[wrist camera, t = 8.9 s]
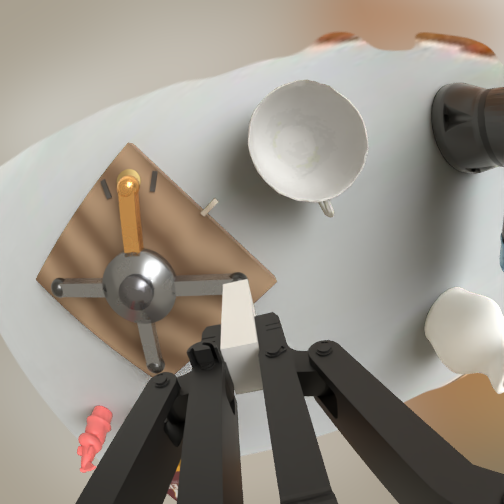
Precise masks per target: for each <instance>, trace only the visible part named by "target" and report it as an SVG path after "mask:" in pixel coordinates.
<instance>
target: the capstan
mask: <svg viewBox="0 0 504 504" xmlns="http://www.w3.org/2000/svg"><path fill="white" fill-rule="evenodd" d="M139 189H140V184H139V181H138V180H137V179H136V178H135V177H134V176H131V175H126V176H124V177H122V178H121V179H120V180H119V181H118V183H117V193H118V198H119V209H120V219H121V229H122V237H123V245H124V251H123V252H121V253H119V254H118V255H117V256H116V257H115V258H114V259H113V260H112V261H111V262H110V263H109V264H108V266H107V267H106V269H105V272H104V275H103V278H65V279H64V278H56V279H54V280H53V282H52V284H51V291H52V293H53V294H54V295H55V296H56V297H58V298H63V297H105V298H106V300H107V302H108V304H109V305H110V306H111V308H112V309H113V310H114V311H115V312H116V313H117V314H118V315H120V316H121V317H123V318H124V319H126V320H128V321H131V322H134V323H137V325H138V329H139V334H140V338H141V342H142V347H143V351H144V355H145V358H146V366H147V369H148V370H149V371H150V372H152V373H154V374H158V373H161V372H162V371H163V370H164V368H165V362H164V360H163V358H162V354H161V349H160V345H159V340H158V335H157V330H156V324H155V322H157V321H159V320H161V319H163V318H164V317H165V316H166V315H168V313H169V312H170V311H171V309H172V308H173V305H174V303H175V299H176V296H202V295H223V284H227V283H231V282H236V281H240V280H245V279H248V278H247V276H246V275H245V274H243V273H241V272H234V273H229V274H206V275H180V276H176V274H175V272H174V269H173V268H172V266H171V265H170V263H169V262H168V261H167V260H166V259H165V258H164V257H163V256H161V255H160V254H158V253H157V252H155V251H152V250H150V249H146V248H144V246H143V237H142V228H141V217H140V205H139ZM248 284H249V280H248Z"/></svg>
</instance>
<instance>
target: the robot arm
mask: <svg viewBox="0 0 504 504" xmlns="http://www.w3.org/2000/svg"><path fill="white" fill-rule="evenodd" d="M432 125H433V131H434V135H435V139H436V142H437V145H438V147H439V149H440V151H441V153H442V155H443V156H444V158H445V159H446V161H447V162H448V163H449V164H450V165H451V166H452V167H453V168H455V169H456V170H458V171H460V172H465V173H472V174H476V173H481V172H484V171H487V170H490V169H493V168H496V167H499V166H501V167H504V87H500V88H492V89H485V88H481V87H477V86H474V85H469V84H466V83H453V84H448V85H445V86H444V87H442V88H441V89H440V90H439V91H438V93H437V94H436V96H435V99H434V102H433V107H432ZM500 266H501V268H502V271H503V272H504V219H503V229H502V233H501V251H500ZM201 339H202V340H201V342H197V343H195V344H193V345H192V346H191V347H189V348H188V350H187V352H186V353H187V355H188V358H189V360H190V363H191V365H192V371H191V372H189V373H187V374H185V375H183V376H180V377H177V378H176V376H175V375H174V374H173V373H170V372H162V373H159V374H157V375H155V376H153V377H152V378H151V379H150V380H149V382H148V383H147V385H146V387H145V388H144V390H143V392H142V393H141V395H140V396H139V398H138V400H137V401H136V403H135V405H134V406H133V408H132V409H131V411H130V413H129V414H128V416H127V418H126V419H125V421H124V423H123V424H122V426H121V427H120V429H119V431H118V432H117V434H116V436H115V437H114V439H113V441H112V442H111V444H110V446H109V447H108V449H107V451H106V452H105V454H104V456H103V457H102V459H101V461H100V462H99V464H98V466H97V468H96V470H95V471H94V473H93V474H92V476H91V478H90V479H89V481H88V483H87V485H86V486H85V488H84V490H83V492H82V493H81V495H80V497H79V498H78V500H77V502H76V504H163V502H164V499H165V497H166V494H167V492H168V489H169V487H170V484H171V482H172V479H173V477H174V475H175V472H176V470H177V467H178V465H179V462H180V460H181V463H180V473H179V484H178V495H177V504H243V490H242V476H241V463H240V446H239V430H238V412H237V401H236V399H235V396H234V390H235V392H236V394H242V393H248V392H253V391H258V390H263V391H264V398H265V405H266V411H267V418H268V425H269V431H270V438H271V444H272V450H273V457H274V463H275V470H276V476H277V483H278V489H279V495H280V504H338V503H337V500H336V497H335V494H334V493H333V492H332V489H331V486H330V483H329V479H328V476H327V472H326V469H325V466H324V462H323V459H322V455H321V452H320V449H319V445H318V442H317V439H316V435H315V432H314V429H313V425H312V422H311V418H310V415H309V412H308V408H307V405H306V402H305V398H304V396H314V398H315V400H316V401H317V403H318V404H319V405H320V407H321V408H322V409H323V410H324V412H325V413H326V414H327V416H328V417H329V418H330V419H331V421H332V422H333V423H334V425H335V426H336V427H337V428H338V430H339V431H340V432H341V434H342V435H343V436H344V437H345V439H346V440H347V441H348V442H349V444H350V445H351V446H352V447H353V449H354V450H355V451H356V452H357V454H358V455H359V456H360V457H361V458H362V460H363V461H364V462H365V463H366V465H367V466H368V467H369V468H370V470H371V471H372V472H373V473H374V474H375V475H376V477H377V478H378V479H379V480H380V481H381V483H382V484H383V485H384V486H385V488H386V489H387V490H388V491H389V492H390V493H391V495H392V496H393V497H394V498H395V499H396V500H397V502H398V503H399V504H504V474H501V473H498V472H495V471H492V470H488V469H485V468H482V467H479V466H476V465H473V464H472V463H471V462H469V461H468V460H467V459H466V458H465V457H464V456H463V455H461V454H460V453H459V452H458V451H457V450H455V448H453V447H452V446H451V445H450V444H449V443H448V442H447V441H445V440H444V439H443V438H442V437H441V436H440V435H439V434H438V433H437V432H435V431H434V430H433V429H432V428H431V427H430V426H429V425H427V424H426V423H425V422H424V421H423V420H422V419H421V418H420V417H418V416H417V415H416V414H415V413H414V412H413V411H412V410H411V409H410V408H408V407H407V406H406V405H405V404H404V403H403V402H402V401H401V400H400V399H398V398H397V397H396V396H395V395H394V394H393V393H392V392H391V391H390V390H388V389H387V388H386V387H385V386H384V385H383V384H382V383H381V382H380V381H379V380H377V379H376V378H375V377H374V376H373V375H372V374H371V373H370V372H369V371H367V370H366V369H365V368H364V367H363V366H362V365H361V364H360V363H359V362H358V361H356V360H355V359H354V358H353V357H352V356H351V355H350V354H349V353H348V352H347V351H345V350H344V349H343V348H342V347H341V346H340V345H339V344H338V343H336V342H334V341H330V340H324V341H319V342H316V343H315V344H313V345H311V347H310V348H309V350H308V351H296V350H293V349H291V348H290V347H288V345H287V343H286V340H285V336H284V333H283V330H282V327H281V323H280V320H279V317H278V316H277V315H276V314H275V313H273V312H272V313H267V314H263V315H258V316H256V313H255V309H254V305H253V301H252V296H251V292H250V288H249V284H248V279H245V280H240V281H236V282H231V283H227V284H223V295H222V318H221V324H218V325H213V326H208V327H206V328H205V330H204V331H203V332H202V338H201Z"/></svg>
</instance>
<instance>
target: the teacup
mask: <svg viewBox="0 0 504 504" xmlns="http://www.w3.org/2000/svg"><path fill="white" fill-rule="evenodd" d="M248 148H249V153H250V156H251V159H252V162H253V164H254V167H255V168H256V170H257V172H258V173H259V175H260V176H261V177H262V179H263V180H264V181H265V182H266V183H267V184H268V185H269V186H270V187H271V188H273V189H274V190H275V191H276V192H277V193H279V194H281V195H284V196H286V197H288V198H291V199H294V200H297V201H305V202H318V203H319V205H320V207H321V208H322V210H323V212H324V214H325V215H326V216H328V217H333V216H334V209H333V207H332V204H331V202H330V200H329V199H332V198H334V197H337V196H338V195H340V194H341V193H342V192H344V191H345V190H346V189H347V188H349V187H351V185H352V184H353V182H354V181H355V179H356V178H357V176H358V175H359V173H360V172H361V171H362V169H363V167H364V165H365V160H366V156H367V154H368V137H367V131H366V127H365V124H364V121H363V119H362V117H361V115H360V113H359V112H358V110H357V109H356V108H355V107H354V105H353V104H352V103H351V102H350V100H349V99H348V98H346V97H345V96H343V95H342V94H340V93H339V92H337V91H336V90H334V89H333V88H332V87H330V86H328V85H326V84H320V83H318V82H315V81H310V80H298V81H293V82H291V83H287V84H284V85H282V86H280V87H278V88H276V89H275V90H273V91H272V92H270V93H269V94H268V95H267V96H266V97H265V98H264V99H263V100H262V102H261V103H260V104H259V105H258V106H257V107H256V109H255V111H254V113H253V114H252V117H251V120H250V124H249V129H248Z"/></svg>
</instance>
